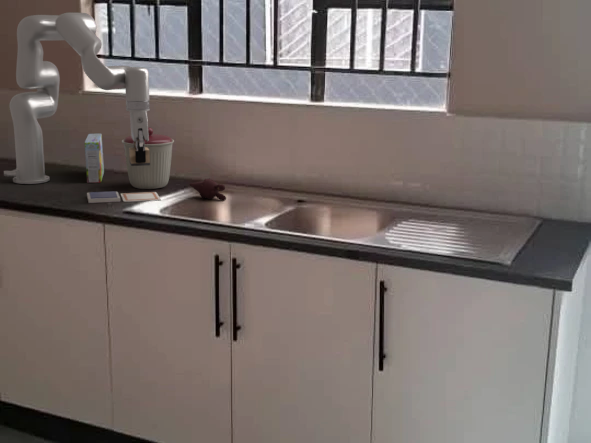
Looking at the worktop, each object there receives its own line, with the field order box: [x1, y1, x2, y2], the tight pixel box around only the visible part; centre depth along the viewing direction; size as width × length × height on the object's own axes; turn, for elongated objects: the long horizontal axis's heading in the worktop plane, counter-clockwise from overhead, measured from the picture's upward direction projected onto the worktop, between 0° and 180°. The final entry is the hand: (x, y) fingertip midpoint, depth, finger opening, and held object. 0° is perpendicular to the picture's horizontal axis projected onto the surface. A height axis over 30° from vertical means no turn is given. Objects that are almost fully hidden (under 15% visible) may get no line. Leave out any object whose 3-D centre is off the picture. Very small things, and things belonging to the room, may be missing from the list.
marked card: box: [120, 191, 162, 203], centre depth 275 cm, size 12×12×1 cm
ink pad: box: [86, 190, 121, 204], centre depth 272 cm, size 10×10×2 cm
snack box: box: [84, 133, 105, 184], centre depth 305 cm, size 21×6×15 cm, turn 10°
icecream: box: [188, 178, 227, 201], centre depth 275 cm, size 7×7×15 cm
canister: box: [121, 126, 175, 190], centre depth 290 cm, size 18×18×21 cm
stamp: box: [129, 143, 150, 166], centre depth 272 cm, size 6×6×7 cm
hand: (139, 160), depth 272 cm, fingers closed on stamp, 6 cm apart
